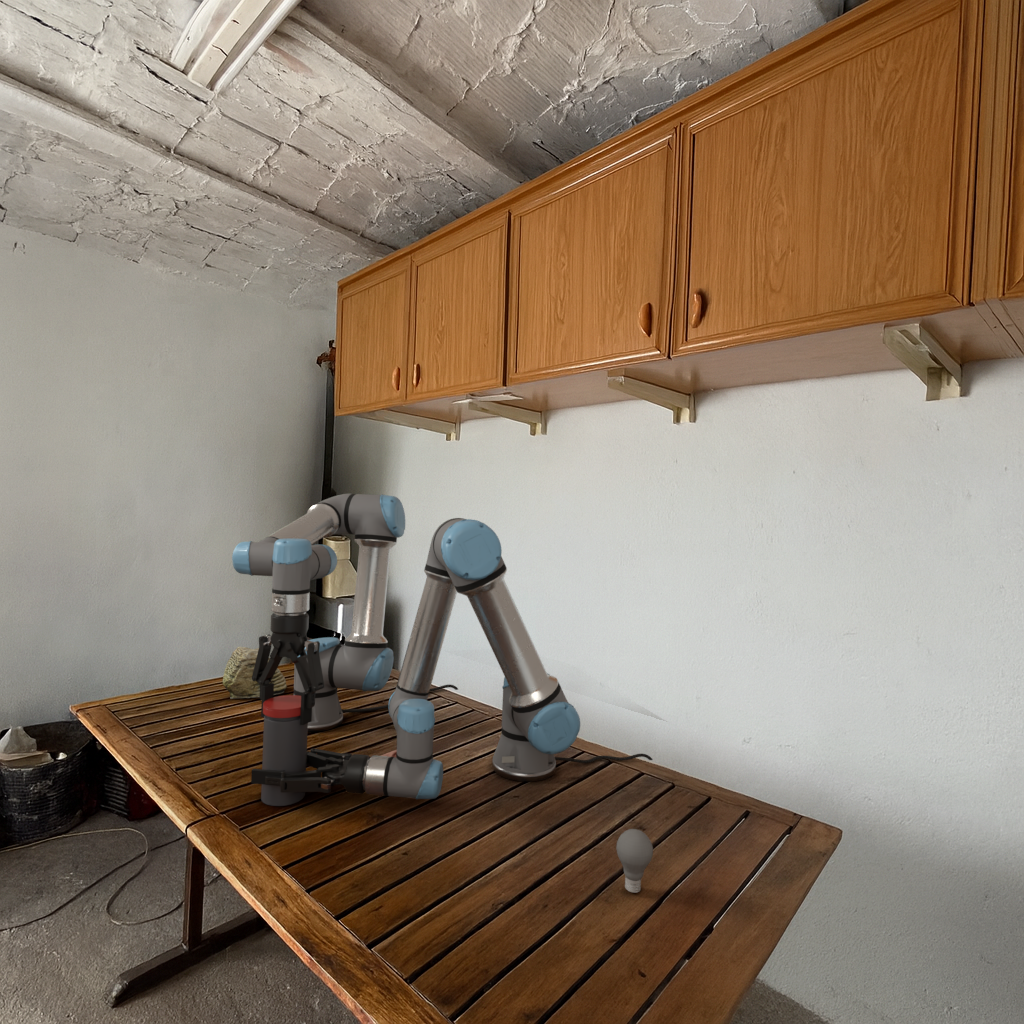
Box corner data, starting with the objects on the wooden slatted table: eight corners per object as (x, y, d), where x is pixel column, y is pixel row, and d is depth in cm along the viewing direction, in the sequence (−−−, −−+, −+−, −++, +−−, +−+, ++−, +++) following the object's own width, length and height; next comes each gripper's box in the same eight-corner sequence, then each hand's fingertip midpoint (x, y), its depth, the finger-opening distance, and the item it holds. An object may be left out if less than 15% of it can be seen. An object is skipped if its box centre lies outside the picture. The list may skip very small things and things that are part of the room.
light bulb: (610, 879, 108) (613, 822, 108) (644, 879, 109) (647, 822, 109) (619, 902, 102) (622, 840, 102) (655, 901, 103) (658, 840, 103)
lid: (287, 700, 139) (287, 692, 139) (319, 708, 135) (319, 700, 135) (252, 712, 131) (253, 703, 131) (285, 721, 127) (286, 712, 127)
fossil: (218, 695, 195) (220, 647, 195) (278, 685, 208) (279, 640, 207) (228, 703, 189) (230, 653, 188) (289, 692, 201) (290, 645, 201)
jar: (306, 785, 139) (309, 700, 138) (303, 804, 130) (307, 713, 130) (263, 788, 136) (267, 701, 136) (258, 807, 128) (261, 715, 128)
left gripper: (235, 610, 133) (231, 716, 133) (323, 621, 125) (318, 733, 126) (260, 605, 140) (257, 705, 140) (345, 615, 132) (341, 721, 133)
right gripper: (349, 818, 121) (236, 808, 123) (381, 770, 143) (284, 763, 144) (351, 779, 121) (237, 770, 123) (383, 737, 142) (286, 730, 144)
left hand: (286, 718), depth 133 cm, fingers closed on lid, 9 cm apart
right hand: (263, 766), depth 134 cm, fingers closed on jar, 9 cm apart
